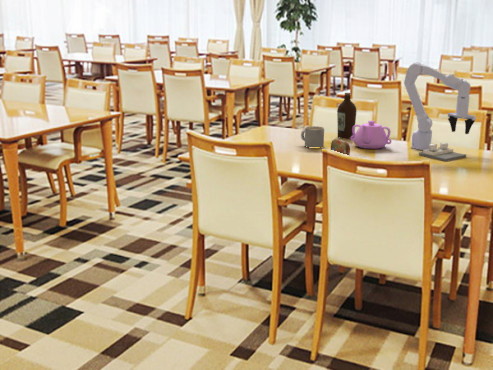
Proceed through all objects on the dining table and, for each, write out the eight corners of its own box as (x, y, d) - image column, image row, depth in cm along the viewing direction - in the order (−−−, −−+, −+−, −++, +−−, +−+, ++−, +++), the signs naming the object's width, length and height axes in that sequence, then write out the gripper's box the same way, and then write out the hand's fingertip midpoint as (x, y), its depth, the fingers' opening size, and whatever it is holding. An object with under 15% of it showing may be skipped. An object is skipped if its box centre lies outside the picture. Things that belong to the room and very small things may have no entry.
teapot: (342, 149, 314) (342, 123, 310) (355, 142, 333) (356, 116, 329) (384, 153, 304) (385, 126, 300) (395, 145, 323) (396, 119, 319)
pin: (427, 153, 299) (427, 144, 298) (432, 152, 301) (432, 143, 299) (432, 154, 296) (433, 145, 295) (438, 153, 298) (438, 144, 296)
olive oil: (347, 134, 353) (349, 91, 346) (359, 137, 344) (361, 93, 337) (332, 136, 348) (334, 92, 341) (344, 139, 339) (345, 94, 332)
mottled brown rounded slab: (330, 154, 304) (330, 137, 302) (335, 153, 305) (336, 137, 303) (345, 160, 290) (345, 143, 288) (350, 160, 292) (351, 143, 289)
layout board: (418, 155, 300) (419, 144, 299) (439, 151, 308) (440, 141, 307) (445, 161, 288) (446, 150, 286) (466, 157, 296) (467, 146, 294)
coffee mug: (327, 147, 320) (328, 128, 318) (313, 149, 315) (313, 130, 312) (310, 143, 331) (311, 124, 328) (296, 145, 326) (296, 126, 323)
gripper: (445, 104, 306) (442, 131, 309) (471, 108, 295) (468, 135, 298) (453, 103, 310) (451, 130, 314) (479, 106, 299) (476, 134, 303)
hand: (460, 132), depth 306 cm, fingers open, 7 cm apart
